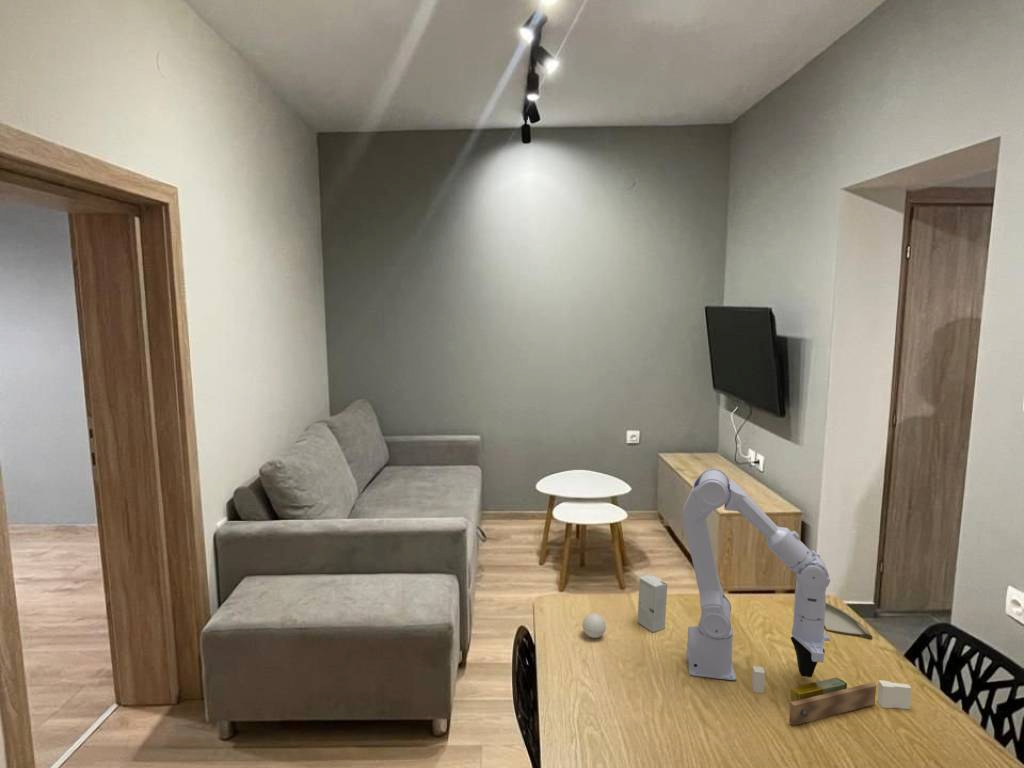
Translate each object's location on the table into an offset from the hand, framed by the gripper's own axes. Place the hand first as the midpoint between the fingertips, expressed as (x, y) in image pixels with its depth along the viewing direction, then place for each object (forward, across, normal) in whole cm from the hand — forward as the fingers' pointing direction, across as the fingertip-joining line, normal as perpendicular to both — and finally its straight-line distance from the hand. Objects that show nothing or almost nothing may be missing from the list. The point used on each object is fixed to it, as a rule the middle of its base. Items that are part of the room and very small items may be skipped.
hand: (805, 674), depth 121 cm
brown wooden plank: (+2, -9, -3) cm, 10 cm away
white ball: (+3, +11, +46) cm, 47 cm away
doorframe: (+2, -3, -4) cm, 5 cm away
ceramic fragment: (+3, +29, -14) cm, 32 cm away
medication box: (+3, -6, -1) cm, 6 cm away
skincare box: (+3, +19, +31) cm, 36 cm away
